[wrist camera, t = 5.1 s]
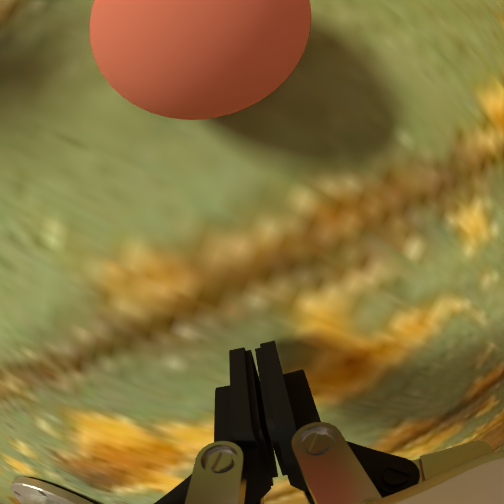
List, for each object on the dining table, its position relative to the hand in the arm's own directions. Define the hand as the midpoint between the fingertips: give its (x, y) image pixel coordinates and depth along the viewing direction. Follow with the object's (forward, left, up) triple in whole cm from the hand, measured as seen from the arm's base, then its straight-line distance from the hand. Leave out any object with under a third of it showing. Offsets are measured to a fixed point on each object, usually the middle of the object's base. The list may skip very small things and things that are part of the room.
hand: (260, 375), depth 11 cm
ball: (+11, +2, +1) cm, 12 cm away
